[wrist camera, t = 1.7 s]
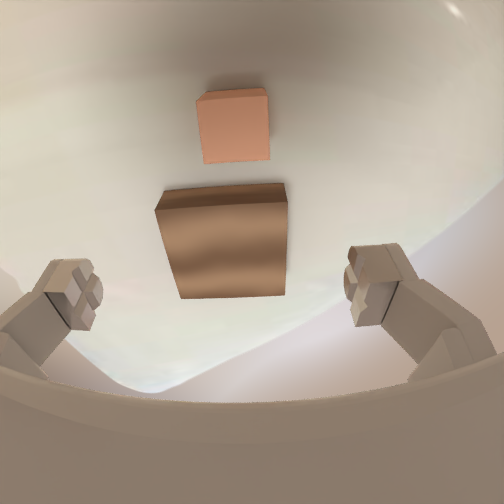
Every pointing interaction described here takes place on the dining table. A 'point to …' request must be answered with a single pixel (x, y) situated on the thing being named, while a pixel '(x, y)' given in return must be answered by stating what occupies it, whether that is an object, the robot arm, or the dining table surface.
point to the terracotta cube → (234, 125)
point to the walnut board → (226, 240)
